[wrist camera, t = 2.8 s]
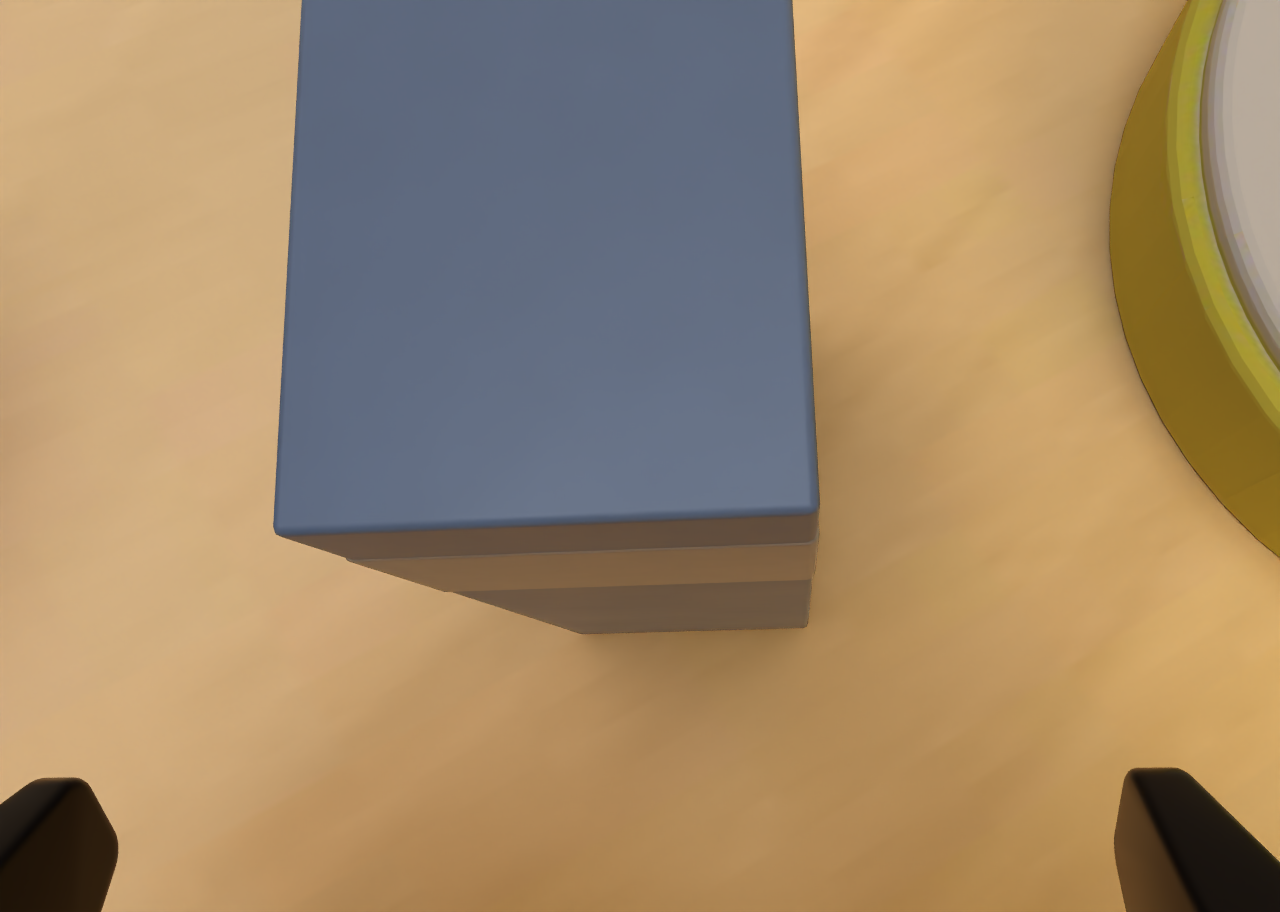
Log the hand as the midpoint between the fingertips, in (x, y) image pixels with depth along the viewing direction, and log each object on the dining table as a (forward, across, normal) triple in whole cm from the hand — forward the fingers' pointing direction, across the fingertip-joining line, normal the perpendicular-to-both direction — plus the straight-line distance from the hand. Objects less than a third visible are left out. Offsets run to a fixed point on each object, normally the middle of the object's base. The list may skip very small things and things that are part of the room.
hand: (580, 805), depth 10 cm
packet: (+12, 0, +5) cm, 13 cm away
